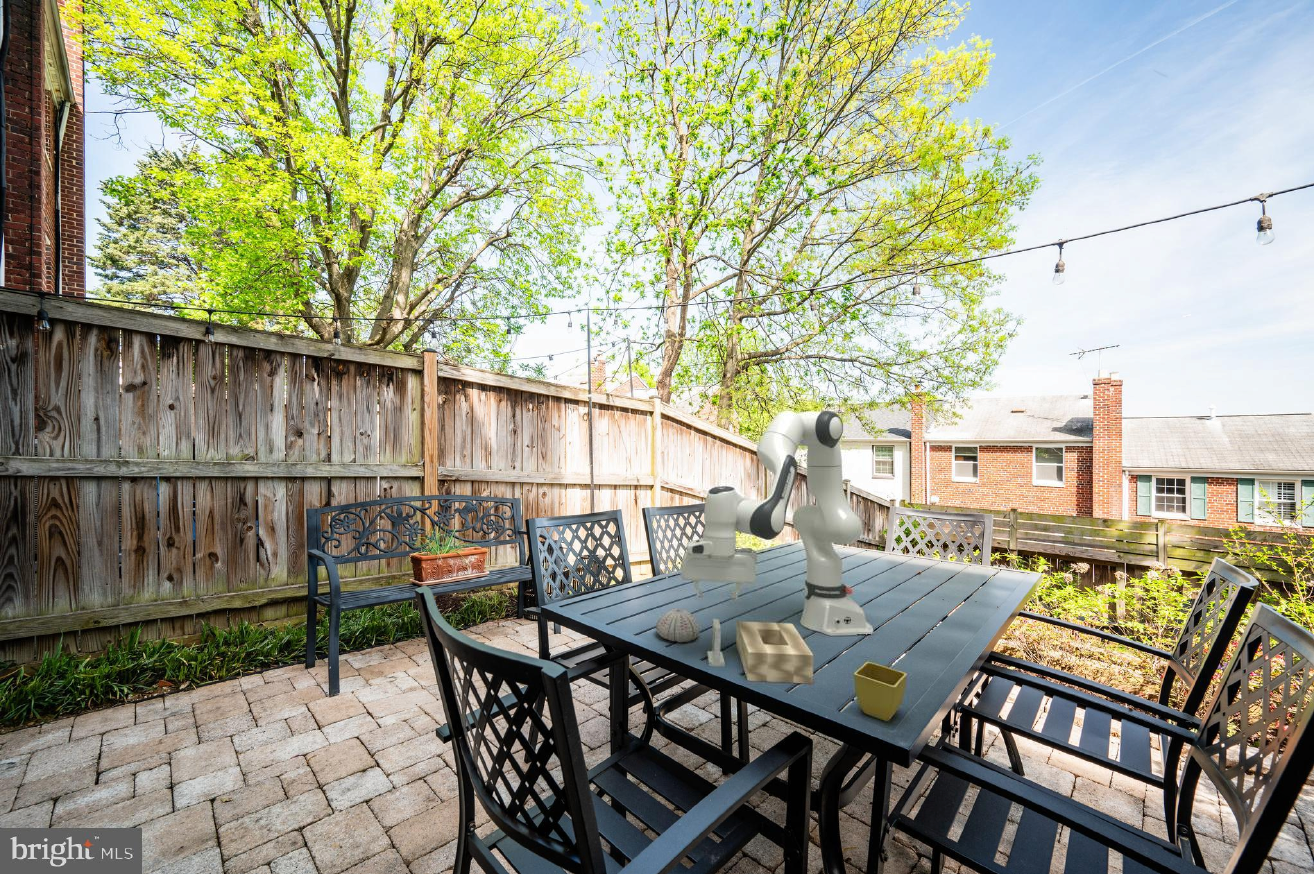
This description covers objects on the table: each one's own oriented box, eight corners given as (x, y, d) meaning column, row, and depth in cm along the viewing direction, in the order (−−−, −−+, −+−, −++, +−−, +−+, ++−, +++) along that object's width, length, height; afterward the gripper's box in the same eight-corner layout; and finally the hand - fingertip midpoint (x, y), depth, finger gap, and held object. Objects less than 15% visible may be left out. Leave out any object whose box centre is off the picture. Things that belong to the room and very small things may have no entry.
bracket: (721, 655, 140) (722, 619, 140) (724, 666, 133) (725, 628, 133) (707, 654, 140) (708, 618, 140) (709, 665, 133) (710, 627, 133)
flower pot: (894, 730, 105) (895, 686, 105) (852, 714, 111) (853, 672, 111) (906, 714, 112) (907, 673, 112) (866, 699, 118) (867, 661, 118)
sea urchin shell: (673, 625, 162) (674, 600, 162) (708, 636, 153) (709, 610, 153) (646, 636, 152) (647, 609, 152) (682, 649, 143) (683, 621, 143)
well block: (791, 647, 147) (792, 623, 147) (812, 683, 125) (813, 655, 125) (736, 645, 147) (737, 621, 147) (747, 680, 125) (748, 652, 125)
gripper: (755, 546, 140) (753, 596, 139) (681, 542, 140) (679, 592, 140) (759, 550, 133) (757, 603, 133) (682, 546, 134) (679, 599, 134)
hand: (716, 597), depth 136 cm, fingers open, 8 cm apart
